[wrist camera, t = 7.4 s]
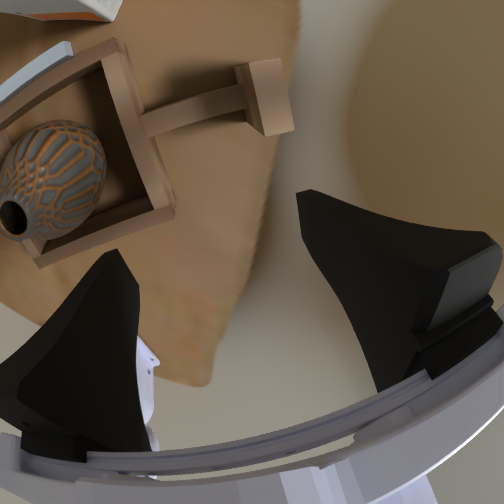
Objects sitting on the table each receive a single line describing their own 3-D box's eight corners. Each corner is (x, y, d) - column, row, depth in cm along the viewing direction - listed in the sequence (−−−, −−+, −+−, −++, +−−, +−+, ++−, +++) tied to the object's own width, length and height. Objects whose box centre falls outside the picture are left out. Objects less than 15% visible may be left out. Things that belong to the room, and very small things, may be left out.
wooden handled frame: (279, 168, 20) (304, 196, 16) (51, 247, 19) (30, 286, 15) (244, 10, 12) (263, -11, 8) (-6, 124, 12) (-45, 143, 8)
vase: (29, 189, 16) (-30, 255, 9) (48, 103, 13) (-31, 133, 6) (102, 214, 19) (66, 294, 12) (130, 128, 16) (87, 169, 9)
